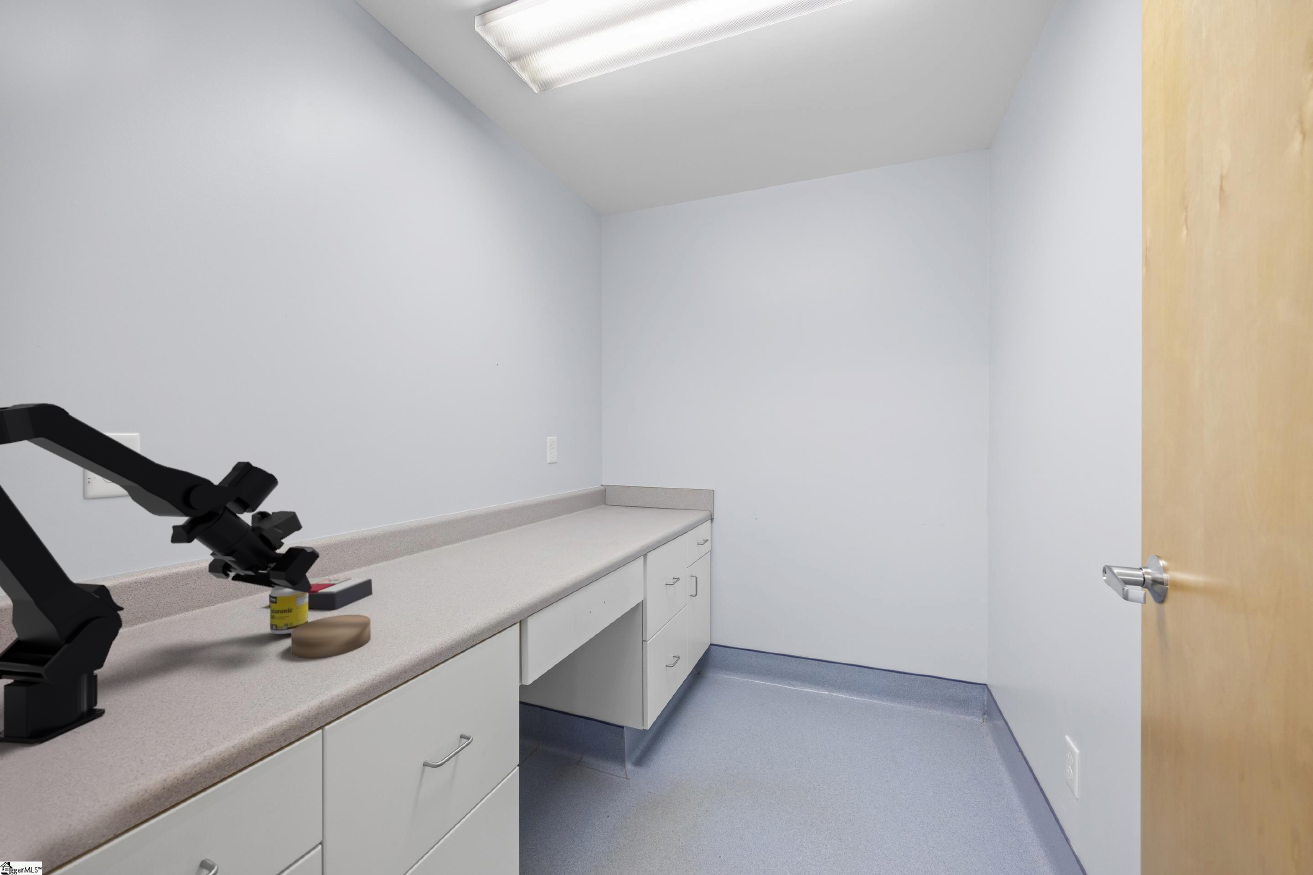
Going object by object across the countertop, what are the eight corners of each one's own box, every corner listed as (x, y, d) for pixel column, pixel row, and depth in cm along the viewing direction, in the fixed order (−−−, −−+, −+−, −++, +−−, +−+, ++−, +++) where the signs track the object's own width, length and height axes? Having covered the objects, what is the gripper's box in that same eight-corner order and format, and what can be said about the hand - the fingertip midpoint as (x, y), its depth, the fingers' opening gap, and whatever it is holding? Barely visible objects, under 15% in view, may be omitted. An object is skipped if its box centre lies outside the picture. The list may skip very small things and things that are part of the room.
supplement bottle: (261, 634, 87) (262, 576, 87) (288, 623, 93) (289, 568, 93) (290, 635, 86) (290, 577, 87) (315, 624, 92) (316, 569, 92)
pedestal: (339, 659, 78) (339, 639, 78) (273, 656, 80) (273, 637, 80) (384, 632, 89) (384, 615, 89) (326, 630, 91) (326, 613, 91)
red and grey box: (311, 576, 115) (372, 575, 113) (312, 595, 115) (373, 594, 113) (267, 590, 104) (334, 589, 102) (268, 612, 104) (335, 611, 102)
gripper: (308, 498, 83) (366, 553, 94) (229, 495, 89) (291, 547, 99) (257, 557, 76) (325, 610, 86) (173, 549, 81) (247, 600, 92)
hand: (297, 588), depth 91 cm, fingers closed on supplement bottle, 5 cm apart
